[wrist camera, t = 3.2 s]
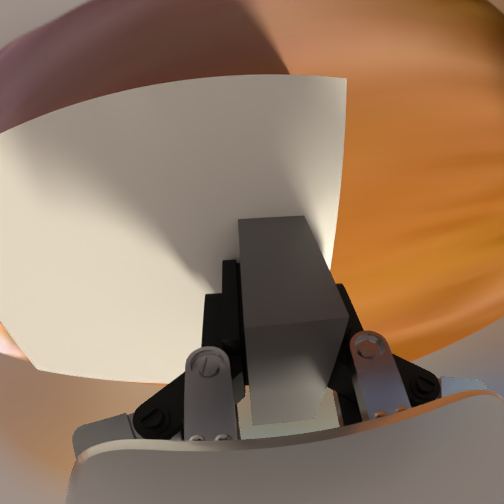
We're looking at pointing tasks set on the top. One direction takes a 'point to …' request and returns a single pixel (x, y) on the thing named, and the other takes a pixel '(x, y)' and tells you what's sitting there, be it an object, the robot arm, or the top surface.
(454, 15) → the top surface
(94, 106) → the sliding lid
